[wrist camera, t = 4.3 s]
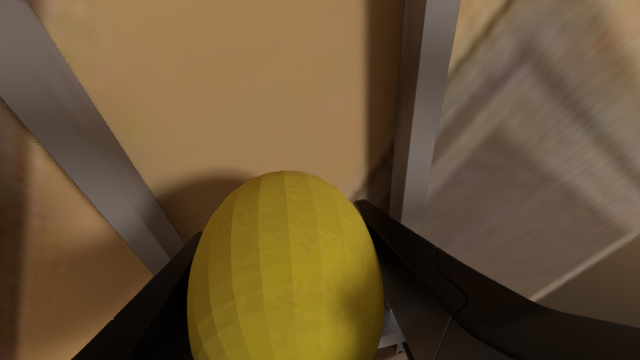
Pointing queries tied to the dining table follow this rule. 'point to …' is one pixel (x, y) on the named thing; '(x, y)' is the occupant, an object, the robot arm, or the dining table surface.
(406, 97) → the channel
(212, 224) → the lemon
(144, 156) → the dining table surface
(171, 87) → the dining table surface
